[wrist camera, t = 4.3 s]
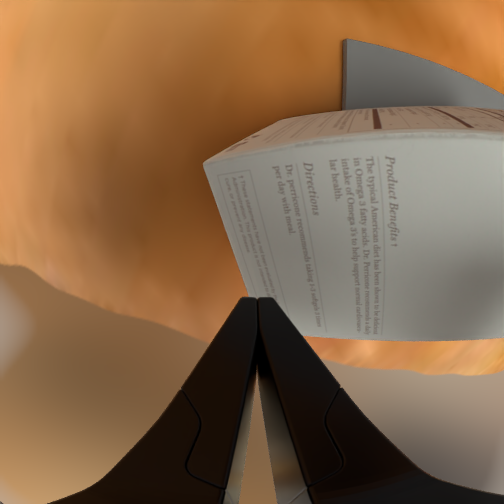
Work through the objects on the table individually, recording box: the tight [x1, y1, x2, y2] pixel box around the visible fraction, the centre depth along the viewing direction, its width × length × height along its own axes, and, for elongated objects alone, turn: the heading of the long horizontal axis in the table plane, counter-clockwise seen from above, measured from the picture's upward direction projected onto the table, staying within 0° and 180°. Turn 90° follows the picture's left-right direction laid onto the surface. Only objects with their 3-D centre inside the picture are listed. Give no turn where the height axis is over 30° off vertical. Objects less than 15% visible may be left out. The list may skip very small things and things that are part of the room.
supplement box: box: [203, 106, 504, 341], centre depth 9 cm, size 7×7×13 cm
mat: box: [342, 39, 504, 111], centre depth 15 cm, size 24×18×1 cm
